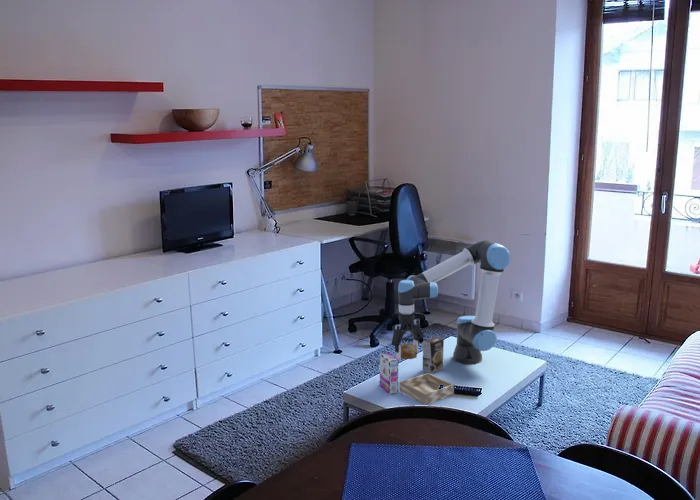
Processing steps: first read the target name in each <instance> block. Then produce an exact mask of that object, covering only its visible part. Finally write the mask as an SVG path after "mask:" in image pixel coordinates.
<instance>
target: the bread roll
mask: <svg viewBox="0 0 700 500" xmlns="http://www.w3.org/2000/svg"><path fill="white" fill-rule="evenodd" d="M400 346H401V359H402V360H413V359H416V358H417V357H418V353H417V349H416V347H415V346H414V345H413V343H404V344H402V345H400ZM401 359H400V360H401Z"/></svg>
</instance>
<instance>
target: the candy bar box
mask: <svg viewBox="0 0 700 500" xmlns="http://www.w3.org/2000/svg"><path fill="white" fill-rule="evenodd" d="M379 387H381V389H382V390H383V391H384V392H386V393H387V394H388V396H389V395H396V394H399V359H398V358H396V356H393V355H392V354H391V353H389V352H385V353H383V352H382V353H380V354H379Z"/></svg>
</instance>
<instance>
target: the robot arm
mask: <svg viewBox="0 0 700 500" xmlns="http://www.w3.org/2000/svg"><path fill="white" fill-rule="evenodd" d="M510 261H511V254H510V251H509V249H508V248H507V247H505V246H504V245H502V244H500V243H498V242H497V243H496V242H493V241H491V240H487V239H486V240H485V239H484V240H480V241H477V242H474V243H472V244H470V245H468V246H466V247H464V248H463V250H462V251H461V252H459V253H457V254H455V255H453V256H451V257H449V258H448V259H446V260H444V261H442V262H440V263H438V264H436V265H435V266H433V267H431V268H429V269H427V270H425V271H423V272H421V273H419V274H417V275H414V274H413V275H409V276H408V277H407V278H406V279H403V280H400V281H399V282H398V287H397V293H398V320H399V324H394V326H393V327H394V331H393V335H392V338H391V345H392V346H394V351H395V358H396V359H397V360H401V345H400V344H402V343H401V342H402V340H403V337H404V336H405V334H406V332H408V331H409V332H410V333H411V335H412V336H413V338H414V339H412V345H414V346H415V347H416V349H417V354H419V346H420V345H419V344H420V341H421V339H423V336H422V331H421V328H420V325H419V324H420V322H419V319H415V301H416V300H423V299H432V298H437V297H438V294H439V286H438V284H437V282H439V281H441V280H442V279H445V278H446V277H449V276H450V275H452V274H454V273H457V272H458V271H460V270H462V269H464V268H466V267H467V266H474V265H476V264H479V265H480V266H479V269H480V271H481V272H482V273H481V278H480V286H479V291H478V297H477V303H476V309H475V315H462V316H459V317H458V318H457V320H456V345H455V346H454V347H455V348H454V351H453V353H452V354H453V355H452V358H453V360H454V361H455V362H457V363H460V364H461V363H462V364H466V365H467V364H468V365H469V364H477V363H480V362H482V360H483V354H482V352H486V351H489V350H491V349H492V348H494V346H496V345H495V344H496V343H497V335H496V333H495V331H494V330H495V326H496V325H495V323H494V321H493V318H494V311H495V306H496V300H497V294H498V289H499V288H498V287H499V281H500V276H501V274H503V273H504V270H505V268H506V267H507V266H508V265H509V263H510Z"/></svg>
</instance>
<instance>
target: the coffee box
mask: <svg viewBox="0 0 700 500" xmlns="http://www.w3.org/2000/svg"><path fill="white" fill-rule="evenodd" d="M444 342H445V341H444V338H440V337H437V336H433V337H432V336H431V337H430V338H427V339H424V340H422V371H424V372H426V373H429V374H431V375H433V374H434V373H437V372H439V371H442V370H444Z"/></svg>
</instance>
